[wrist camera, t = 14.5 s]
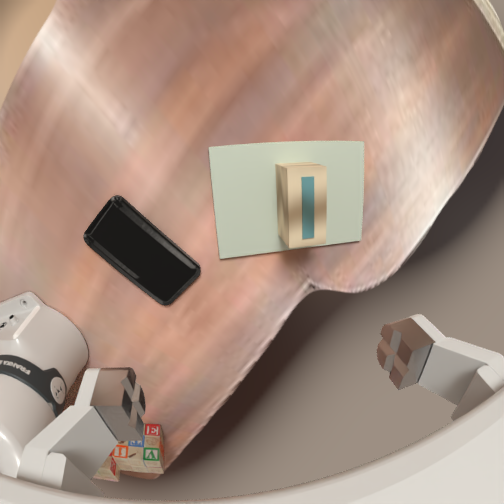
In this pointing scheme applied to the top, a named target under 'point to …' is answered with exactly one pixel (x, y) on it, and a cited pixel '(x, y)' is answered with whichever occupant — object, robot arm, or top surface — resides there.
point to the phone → (141, 251)
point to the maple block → (301, 203)
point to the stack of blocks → (135, 455)
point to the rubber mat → (265, 197)
